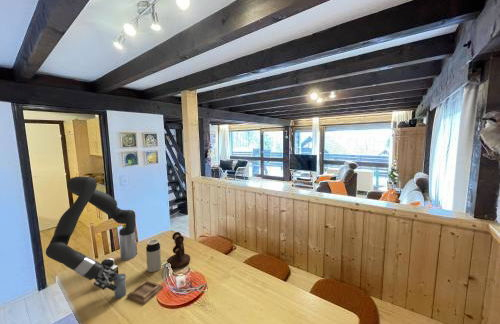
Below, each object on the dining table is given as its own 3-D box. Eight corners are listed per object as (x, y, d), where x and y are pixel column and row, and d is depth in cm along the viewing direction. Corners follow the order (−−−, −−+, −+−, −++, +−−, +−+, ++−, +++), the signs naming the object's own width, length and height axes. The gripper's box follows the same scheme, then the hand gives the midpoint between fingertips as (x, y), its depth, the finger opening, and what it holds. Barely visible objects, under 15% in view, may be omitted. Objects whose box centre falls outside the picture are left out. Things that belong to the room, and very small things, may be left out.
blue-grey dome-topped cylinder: (121, 290, 113) (120, 272, 112) (129, 292, 111) (128, 275, 110) (111, 297, 108) (110, 278, 107) (119, 300, 106) (118, 281, 105)
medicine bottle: (108, 284, 117) (107, 264, 116) (98, 283, 119) (96, 262, 118) (118, 276, 124) (117, 257, 123) (108, 275, 126) (107, 256, 125)
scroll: (193, 264, 137) (192, 235, 135) (170, 272, 128) (168, 241, 127) (186, 254, 149) (185, 227, 147) (164, 261, 141) (163, 232, 139)
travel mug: (163, 266, 134) (162, 239, 132) (153, 273, 127) (152, 245, 125) (154, 263, 137) (153, 237, 136) (144, 270, 130) (143, 242, 129)
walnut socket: (146, 283, 118) (146, 278, 118) (163, 288, 114) (162, 283, 114) (127, 297, 107) (127, 292, 107) (144, 304, 103) (144, 299, 103)
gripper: (90, 269, 97) (120, 286, 102) (98, 254, 110) (124, 270, 115) (76, 283, 95) (108, 299, 101) (87, 266, 108) (114, 281, 114)
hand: (117, 283), depth 108 cm, fingers open, 8 cm apart
